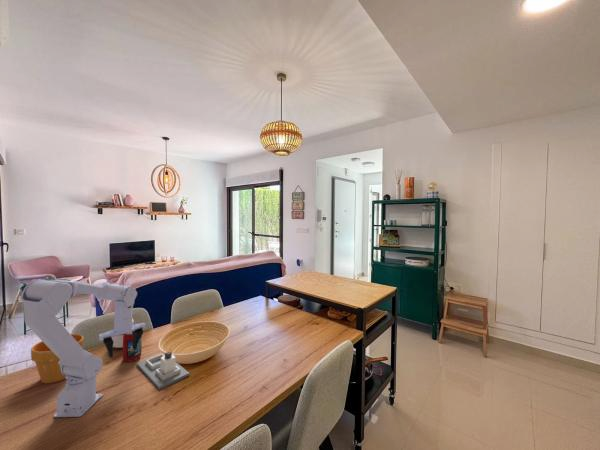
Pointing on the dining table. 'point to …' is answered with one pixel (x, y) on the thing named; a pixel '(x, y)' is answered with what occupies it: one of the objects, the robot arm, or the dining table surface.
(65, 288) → the robot arm
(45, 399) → the dining table surface
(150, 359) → the board
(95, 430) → the dining table surface
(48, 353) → the flower pot
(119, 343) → the spread jar
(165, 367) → the plug
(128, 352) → the beverage can
